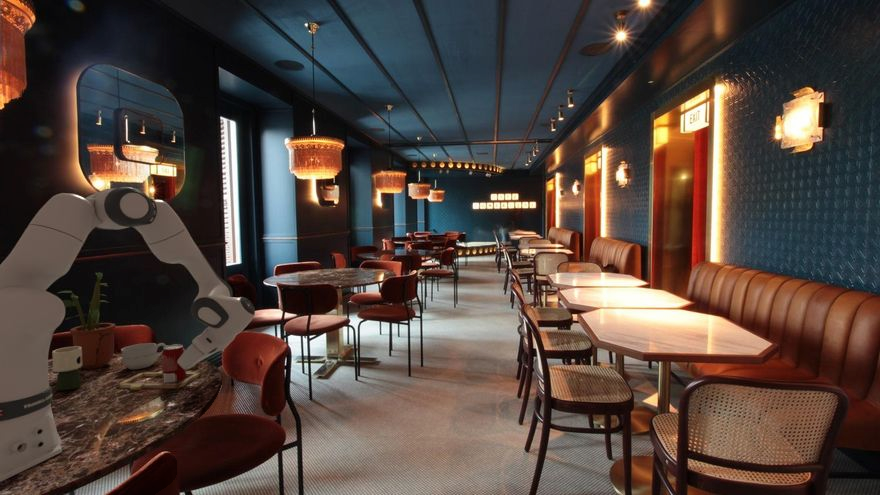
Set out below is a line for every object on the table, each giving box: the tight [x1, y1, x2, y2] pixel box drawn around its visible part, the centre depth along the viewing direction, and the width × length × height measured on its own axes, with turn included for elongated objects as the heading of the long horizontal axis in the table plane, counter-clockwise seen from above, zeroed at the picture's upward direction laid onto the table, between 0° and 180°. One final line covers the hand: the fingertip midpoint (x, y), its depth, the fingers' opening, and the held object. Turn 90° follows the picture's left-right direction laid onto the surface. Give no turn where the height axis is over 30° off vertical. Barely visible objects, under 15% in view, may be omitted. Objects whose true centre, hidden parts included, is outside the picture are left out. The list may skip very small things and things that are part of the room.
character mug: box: [51, 346, 83, 391], centre depth 138 cm, size 11×7×13 cm, turn 39°
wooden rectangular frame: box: [115, 369, 202, 391], centre depth 144 cm, size 15×21×1 cm
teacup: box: [120, 342, 167, 371], centre depth 160 cm, size 14×11×8 cm
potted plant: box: [57, 272, 116, 370], centre depth 156 cm, size 17×16×35 cm
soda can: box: [161, 343, 187, 384], centre depth 144 cm, size 7×7×12 cm
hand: (188, 366), depth 144 cm, fingers closed
